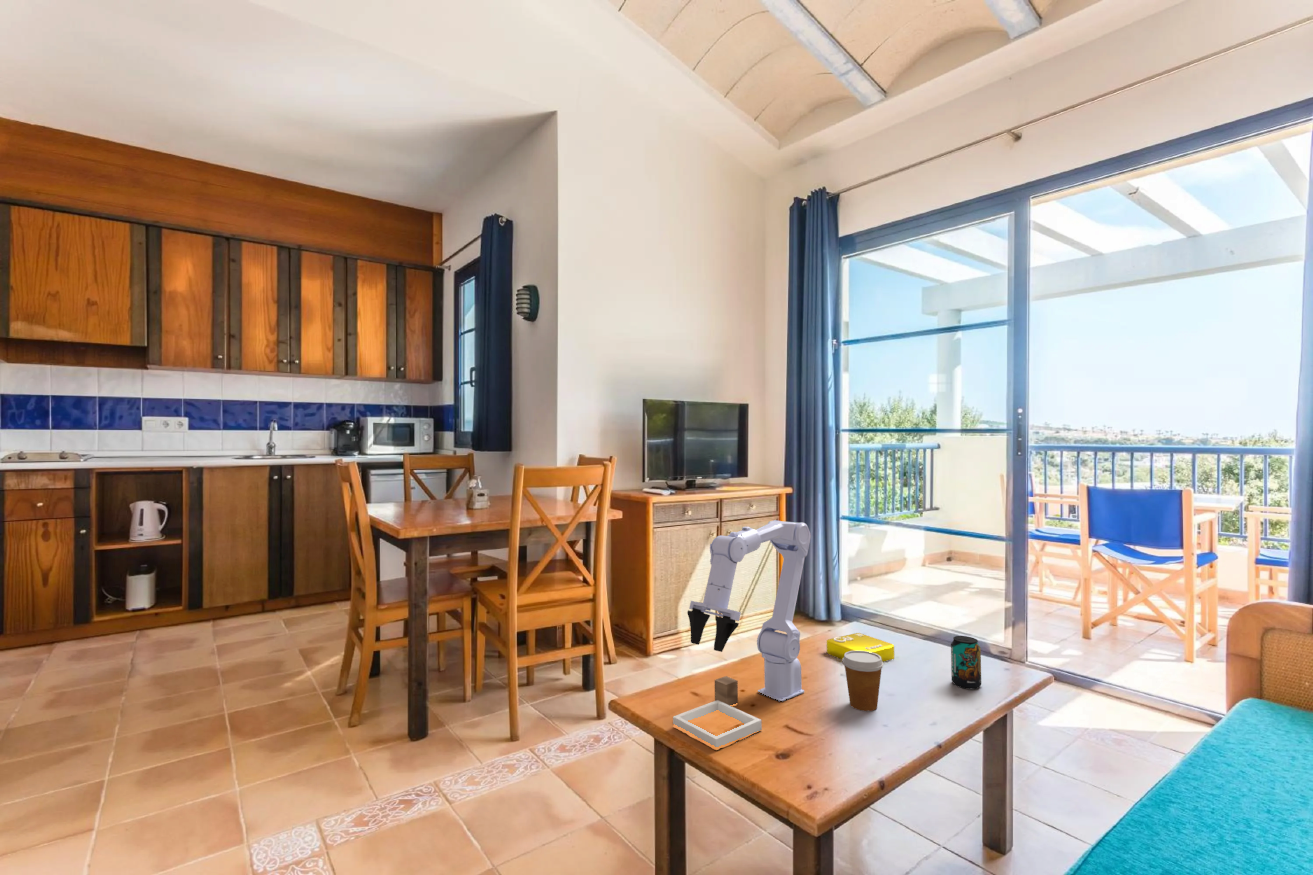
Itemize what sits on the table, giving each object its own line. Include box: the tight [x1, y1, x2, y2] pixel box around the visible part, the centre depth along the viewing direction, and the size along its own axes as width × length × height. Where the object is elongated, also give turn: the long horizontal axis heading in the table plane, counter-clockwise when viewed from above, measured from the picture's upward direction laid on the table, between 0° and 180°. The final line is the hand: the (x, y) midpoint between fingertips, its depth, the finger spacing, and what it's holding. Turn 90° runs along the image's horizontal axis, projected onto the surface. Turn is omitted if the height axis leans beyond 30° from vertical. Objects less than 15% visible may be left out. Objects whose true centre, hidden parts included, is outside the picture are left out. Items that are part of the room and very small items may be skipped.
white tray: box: [672, 700, 763, 747], centre depth 136 cm, size 14×14×2 cm
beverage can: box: [950, 635, 982, 690], centre depth 160 cm, size 7×7×12 cm
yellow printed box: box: [826, 632, 895, 663], centre depth 183 cm, size 15×15×5 cm
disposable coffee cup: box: [842, 650, 885, 712], centre depth 148 cm, size 10×10×12 cm
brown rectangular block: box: [714, 675, 739, 705], centre depth 149 cm, size 4×4×6 cm
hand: (706, 647), depth 137 cm, fingers open, 7 cm apart
